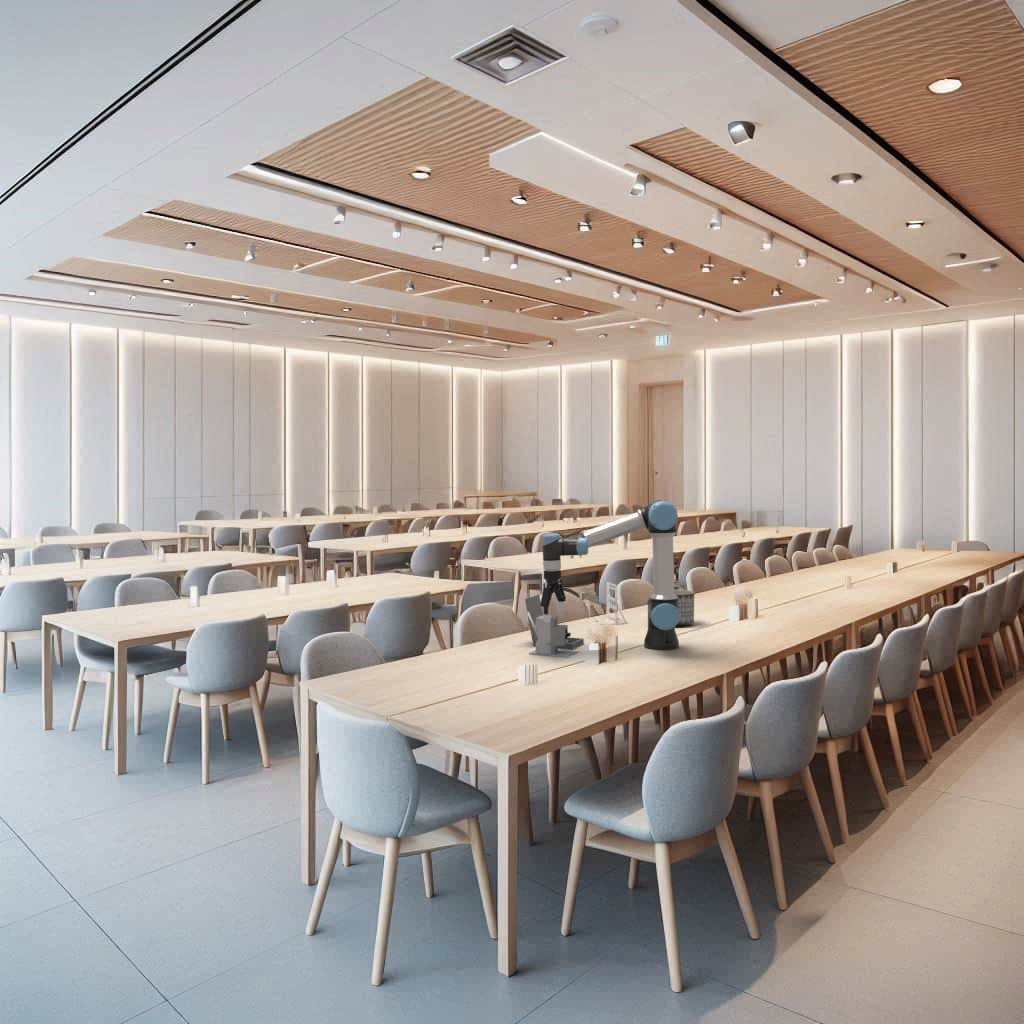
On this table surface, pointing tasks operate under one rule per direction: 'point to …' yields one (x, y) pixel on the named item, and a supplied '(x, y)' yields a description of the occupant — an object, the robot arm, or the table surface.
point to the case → (536, 611)
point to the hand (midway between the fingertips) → (554, 619)
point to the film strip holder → (609, 605)
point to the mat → (557, 653)
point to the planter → (685, 606)
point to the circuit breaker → (550, 635)
